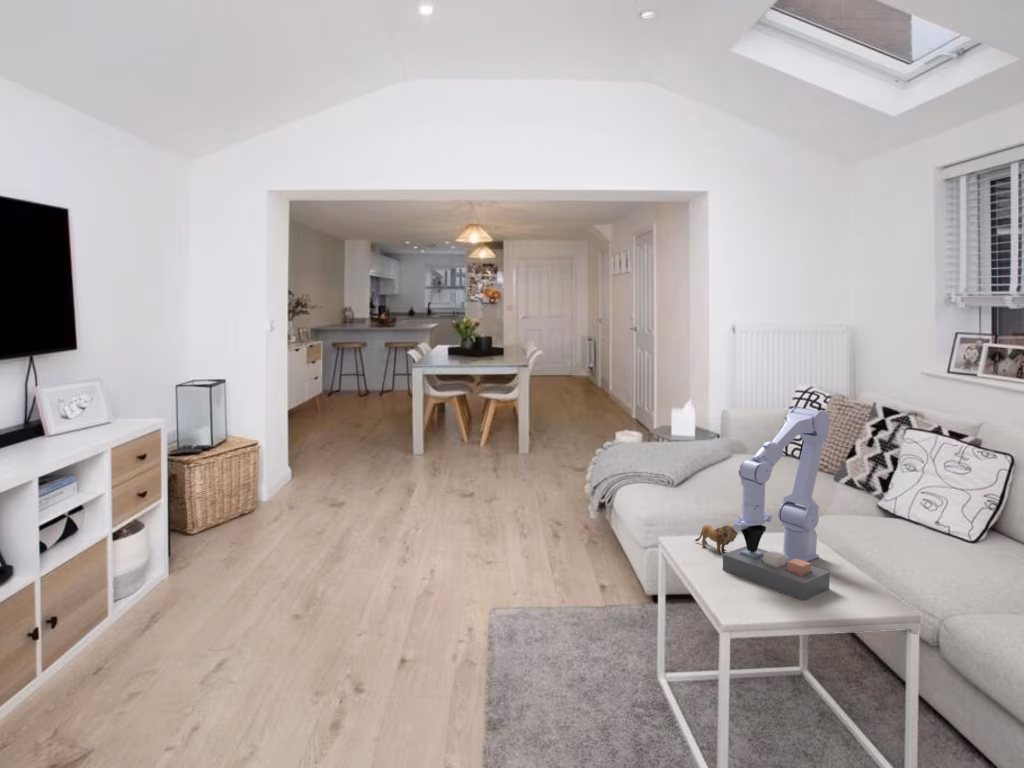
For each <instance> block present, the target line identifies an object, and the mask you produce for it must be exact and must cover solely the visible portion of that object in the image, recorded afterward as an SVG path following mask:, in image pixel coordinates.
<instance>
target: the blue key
mask: <svg viewBox="0 0 1024 768" xmlns="http://www.w3.org/2000/svg"><path fill="white" fill-rule="evenodd" d="M741 555H743V556H745V557H748V558H751V559H754V560H755V559H757V558H760V557H762V552H759V551H756V552H751V551H748V550H744V551H741Z"/></svg>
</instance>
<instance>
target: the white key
mask: <svg viewBox="0 0 1024 768" xmlns="http://www.w3.org/2000/svg"><path fill="white" fill-rule="evenodd" d="M763 563H765V564H768V565H771V566H774V567H776V568H779V567H781V566H783V565H786V555H785V554H782V553H781V552H779V551H776V550H773V549H772V550H769V552H767V553H764V561H763Z"/></svg>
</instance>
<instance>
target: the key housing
mask: <svg viewBox="0 0 1024 768" xmlns="http://www.w3.org/2000/svg"><path fill="white" fill-rule="evenodd" d="M744 550H747V546H746V545H745V546H742V547H740V548H736V549H733V550H732V551H731V550H730V551H727V552H724V553H722V570H723V569H724V571H725V570H726V572H728V571H729V572H728V573H730V572H731V574H733V573H734V574H733V575H736V576H738V577H741V578H743V577H744V579H746V580H748V581H752V582H754V583H756V584H758V585H762V586H765V587H766V588H769V589H771V590H775V591H777V592H780V593H783V594H785V595H788V596H789V597H793V598H795V599H798V600H800V601H803V602H805V601H806V600H808V599H810V598H812V597H814V596H816V595H818V594H821V593H823V592H825V591H827V590H829V589H830V581H831V580H830V578H831V575H830V574H831V572H830V571H828V570H825V569H822V568H819V567H816V566H814V565H811V569H810V574H808V575H805V576H803V577H802V576H799V575H796V574H793V573H791V572H788V571H787V567H788V561H791V560H793V559H790V558H787V557H786V565H783V566H781V567H779V568H776V567H774V566H771V565H768V564H765V563H763V561H764V553H767V552H769V551H770V550H769V551H768V550H766V549H762V548H760V547H758V548H757V551H759V552H762V557H760V558H757V559H755V560H754V559H751V558H748V557H745V556H743V555H741V551H744Z"/></svg>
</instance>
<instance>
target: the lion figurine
mask: <svg viewBox="0 0 1024 768" xmlns="http://www.w3.org/2000/svg"><path fill="white" fill-rule="evenodd" d="M738 533H739V531H736V530H734V525H732V524H727V525H724V526H721V527H718V528H713V527H712V525H709V524H705V525H703V526H702V528H701V533H700V535H699V537H698V538H696V539H694V541H695V542H699V541H700V539H701V538H702V540H701V547H702V548H704V549H705V547H706V548H707V546H706V544H707V543H708V541H706V539H708V538H709V540H711V541H713V542H715V543H716V553H718V554H717V555H722V554H721V553H722V551H726V552H727V550H726V549H725V547H726V546H727V545H730V543H733V542H734V541H735V539H737V536H738Z"/></svg>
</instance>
